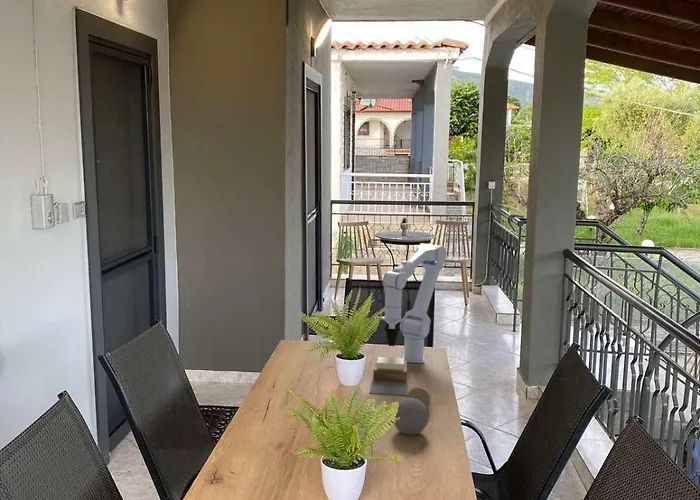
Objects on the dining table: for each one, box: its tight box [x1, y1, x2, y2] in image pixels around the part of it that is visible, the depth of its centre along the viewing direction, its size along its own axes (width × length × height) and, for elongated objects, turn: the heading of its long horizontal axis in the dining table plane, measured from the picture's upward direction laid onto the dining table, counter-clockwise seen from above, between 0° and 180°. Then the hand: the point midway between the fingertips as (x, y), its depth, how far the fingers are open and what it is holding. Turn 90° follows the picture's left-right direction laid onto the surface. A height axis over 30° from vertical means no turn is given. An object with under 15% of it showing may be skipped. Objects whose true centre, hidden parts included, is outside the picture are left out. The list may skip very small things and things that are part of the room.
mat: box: [369, 380, 408, 397], centre depth 215 cm, size 11×12×1 cm
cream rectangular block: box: [377, 356, 404, 370], centre depth 225 cm, size 6×9×2 cm, turn 84°
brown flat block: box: [372, 358, 408, 383], centre depth 226 cm, size 12×11×4 cm
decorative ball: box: [393, 397, 429, 436], centre depth 182 cm, size 10×10×10 cm
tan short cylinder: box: [406, 386, 432, 408], centre depth 201 cm, size 8×10×10 cm
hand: (391, 343), depth 231 cm, fingers open, 6 cm apart
